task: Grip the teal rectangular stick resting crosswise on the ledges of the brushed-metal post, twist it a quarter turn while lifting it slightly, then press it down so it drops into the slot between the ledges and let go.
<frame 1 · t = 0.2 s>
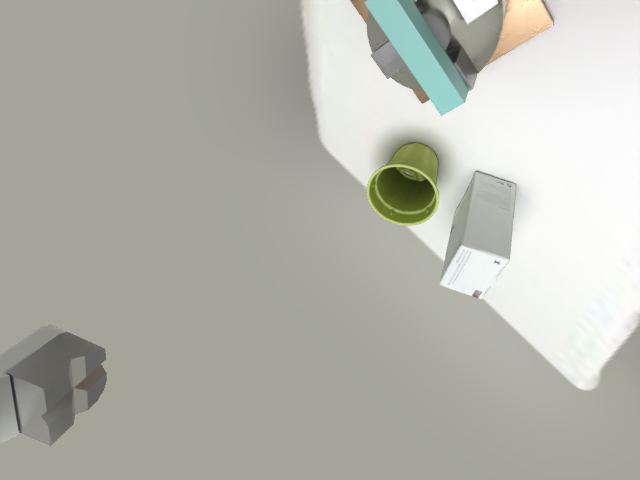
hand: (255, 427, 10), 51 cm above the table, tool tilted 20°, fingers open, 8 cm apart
teal rectangular stick: (427, 34, 43), point 10 cm above the table, touching socket
plant pot: (416, 160, 64), on the table
skincare box: (485, 199, 64), on the table
socket: (445, 3, 50), on the table
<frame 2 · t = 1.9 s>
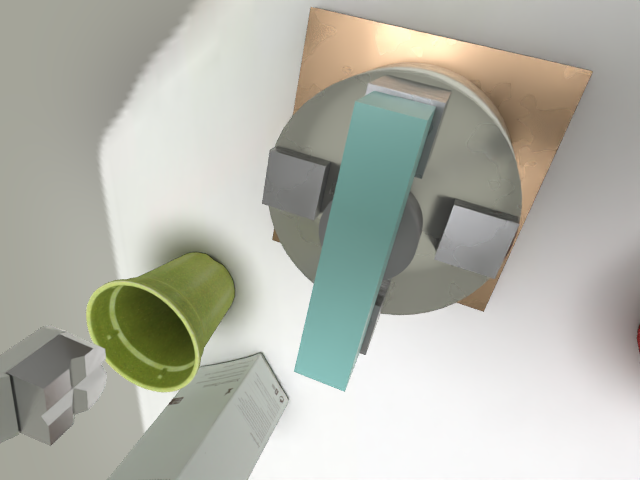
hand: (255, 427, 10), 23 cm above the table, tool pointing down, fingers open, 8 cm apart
teal rectangular stick: (375, 220, 22), point 10 cm above the table, touching socket
plant pot: (205, 280, 40), on the table
skincare box: (243, 383, 44), on the table
socket: (406, 166, 30), on the table
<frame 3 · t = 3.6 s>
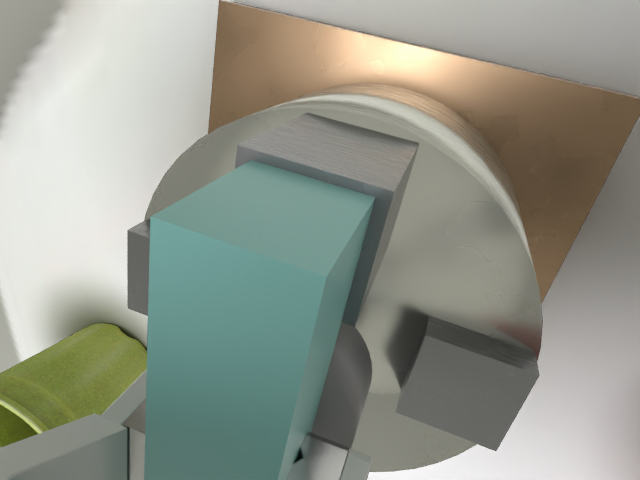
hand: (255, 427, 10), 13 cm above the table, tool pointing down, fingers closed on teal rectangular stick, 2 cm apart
teal rectangular stick: (294, 358, 13), point 10 cm above the table, touching gripper, socket
plant pot: (120, 356, 31), on the table
socket: (368, 226, 21), on the table
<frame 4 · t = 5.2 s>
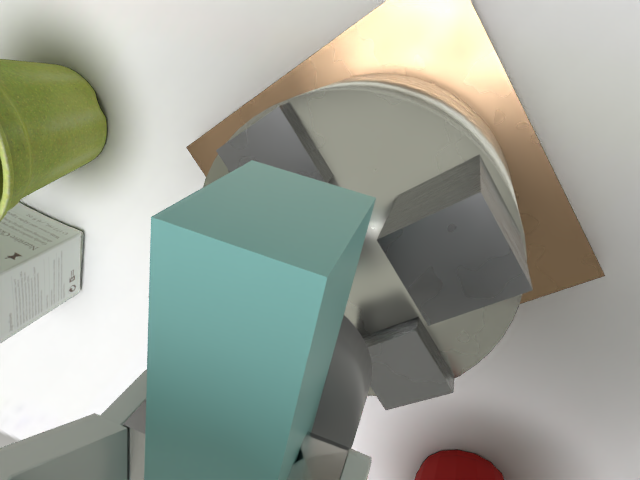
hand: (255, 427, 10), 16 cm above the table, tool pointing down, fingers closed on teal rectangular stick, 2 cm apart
teal rectangular stick: (294, 358, 13), point 14 cm above the table, touching gripper
plant pot: (71, 113, 29), on the table
plastic cup: (464, 476, 31), on the table
skincare box: (39, 240, 34), on the table
socket: (381, 198, 25), on the table
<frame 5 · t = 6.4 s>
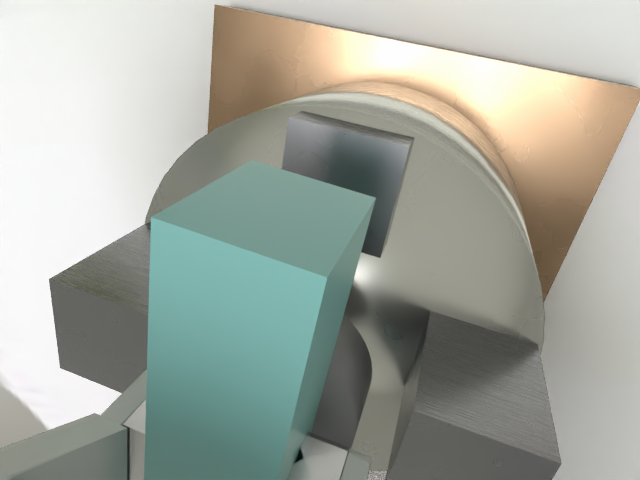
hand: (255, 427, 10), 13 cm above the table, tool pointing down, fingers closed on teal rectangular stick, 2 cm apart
teal rectangular stick: (294, 358, 13), point 10 cm above the table, touching gripper
socket: (369, 225, 21), on the table
when the fingers open (12 cm above the table, at t = 7.1 s): teal rectangular stick drops 2 cm, resting on socket.
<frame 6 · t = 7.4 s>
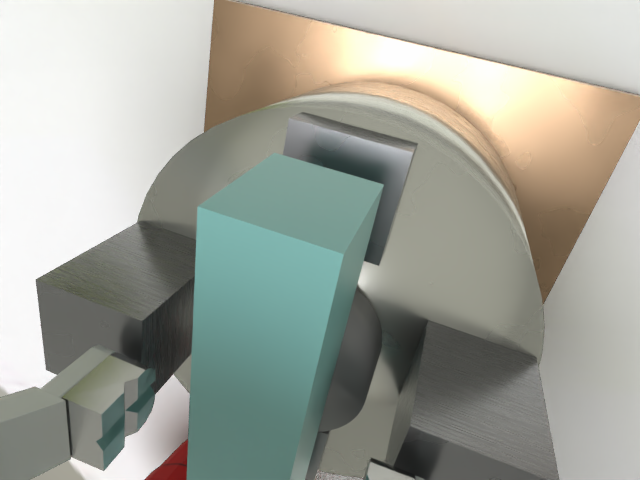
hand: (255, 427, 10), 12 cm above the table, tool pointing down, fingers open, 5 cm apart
teal rectangular stick: (312, 327, 14), point 8 cm above the table, touching socket
plastic cup: (228, 458, 31), on the table
socket: (366, 227, 21), on the table
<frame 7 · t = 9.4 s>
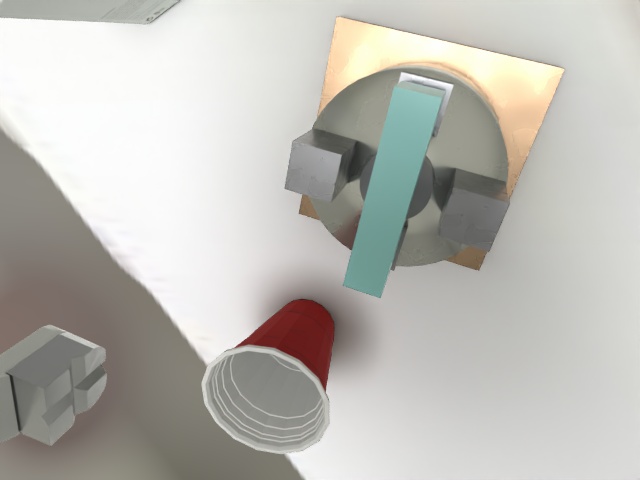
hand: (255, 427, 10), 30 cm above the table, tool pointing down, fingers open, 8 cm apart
teal rectangular stick: (399, 177, 29), point 8 cm above the table, touching socket
plastic cup: (310, 321, 47), on the table
socket: (414, 148, 36), on the table
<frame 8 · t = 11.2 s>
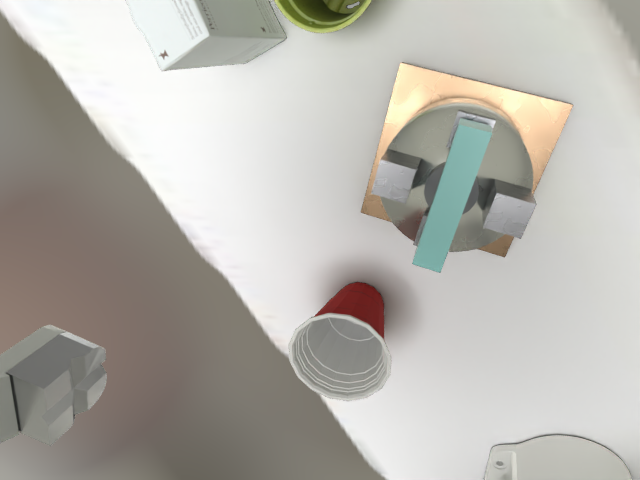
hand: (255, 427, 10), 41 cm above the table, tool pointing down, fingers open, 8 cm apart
teal rectangular stick: (452, 185, 40), point 8 cm above the table, touching socket
plastic cup: (363, 301, 57), on the table
skincare box: (247, 13, 47), on the table
socket: (455, 161, 47), on the table
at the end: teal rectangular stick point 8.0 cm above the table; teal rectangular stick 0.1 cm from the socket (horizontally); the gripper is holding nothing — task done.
